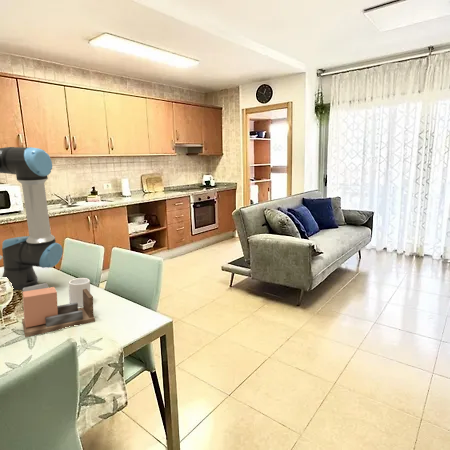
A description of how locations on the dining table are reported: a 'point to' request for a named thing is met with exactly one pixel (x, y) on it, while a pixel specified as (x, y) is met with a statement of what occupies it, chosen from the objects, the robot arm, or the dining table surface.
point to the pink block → (39, 305)
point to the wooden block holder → (65, 317)
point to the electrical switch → (36, 287)
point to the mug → (78, 290)
